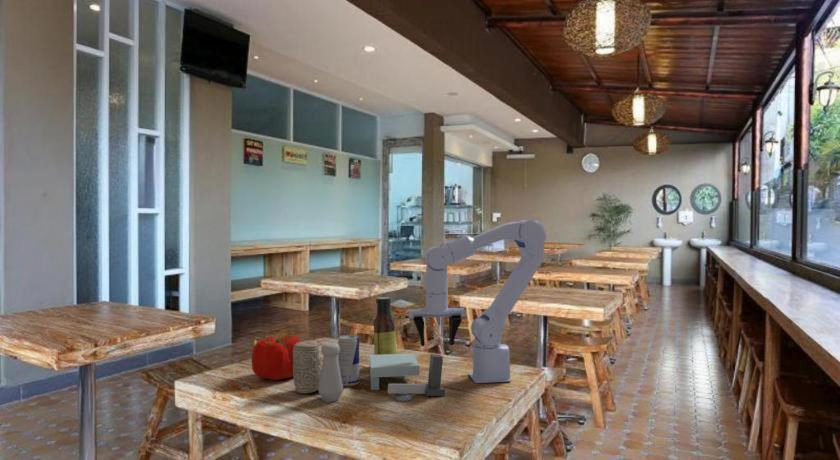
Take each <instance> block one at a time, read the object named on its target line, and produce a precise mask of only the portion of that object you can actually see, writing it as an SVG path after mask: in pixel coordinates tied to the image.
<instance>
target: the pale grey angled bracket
mask: <svg viewBox="0 0 840 460" xmlns="http://www.w3.org/2000/svg"><path fill="white" fill-rule="evenodd" d="M405 376H406V377H407V376H420V364H419V362H418V360H417V357H416V355H415V353H414V352H413V353H412V352H411V353H396V354H383V355H375V354H369V381H370V390H371V391H378V390H380V378H382V377H405Z"/></svg>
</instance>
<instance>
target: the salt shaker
mask: <svg viewBox="0 0 840 460" xmlns="http://www.w3.org/2000/svg"><path fill="white" fill-rule="evenodd" d="M320 350H321V355H323V359H322V364H321V376H320V381H319V387H318V390H317V391H318V394H319V396H320V397H321V400H322V401H323V402H326V403H333V402H337V401H339V400H340V398H341V396H342V393H343V392H344V386H343V384H342V379H341V373H340V368H339V362H338V354H339V352H340V347H339V345H338V342H327V343H325V344H322V345H321V349H320Z"/></svg>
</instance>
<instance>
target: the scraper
mask: <svg viewBox="0 0 840 460" xmlns="http://www.w3.org/2000/svg"><path fill="white" fill-rule="evenodd" d="M429 357H430V359H429V365H428V366H429V367H428V378H427V383H388V385H387V393H388V394H396V393H412V394H425V396H427V397H445V396H446V389H445V388H444V387H443V386H442V384H441V383H442V382H441V381H442V372H443V361H444V356H443V355H441V354H439V353H438V354H437V353H434V354H433V353H431V354H430V355H429Z"/></svg>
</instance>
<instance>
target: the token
mask: <svg viewBox="0 0 840 460" xmlns="http://www.w3.org/2000/svg"><path fill="white" fill-rule="evenodd" d="M393 396H394V397H393V398H394V401H396V402H399V403H400V402H401V403H404V402H405V403H406V402H411V401H413V400H414V393H394V395H393Z"/></svg>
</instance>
